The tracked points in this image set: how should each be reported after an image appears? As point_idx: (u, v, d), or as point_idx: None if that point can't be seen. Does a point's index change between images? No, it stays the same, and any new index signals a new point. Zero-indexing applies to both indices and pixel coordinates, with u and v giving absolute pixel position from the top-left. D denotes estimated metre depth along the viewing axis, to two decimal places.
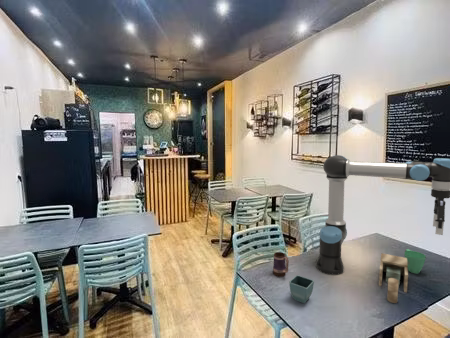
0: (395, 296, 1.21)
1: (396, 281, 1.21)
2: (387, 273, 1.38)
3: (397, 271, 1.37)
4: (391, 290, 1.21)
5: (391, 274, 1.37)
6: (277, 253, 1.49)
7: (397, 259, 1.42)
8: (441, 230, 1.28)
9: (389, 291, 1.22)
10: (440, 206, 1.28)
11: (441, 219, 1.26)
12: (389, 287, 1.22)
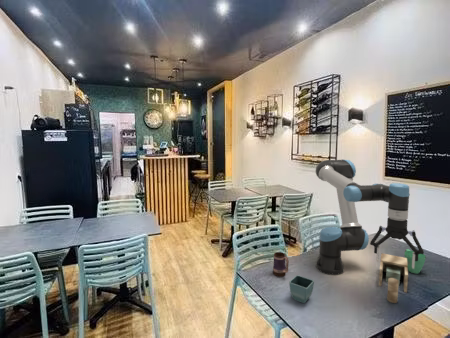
0: (395, 296, 1.21)
1: (396, 281, 1.21)
2: (387, 273, 1.38)
3: (397, 271, 1.37)
4: (391, 290, 1.21)
5: (391, 274, 1.37)
6: (277, 253, 1.49)
7: (397, 259, 1.42)
8: None
9: (389, 291, 1.22)
10: (379, 230, 1.23)
11: None
12: (389, 287, 1.22)
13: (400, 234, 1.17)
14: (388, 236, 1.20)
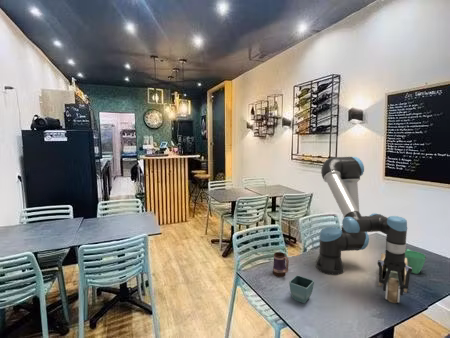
0: (395, 296, 1.21)
1: (396, 281, 1.21)
2: None
3: None
4: (391, 290, 1.21)
5: (391, 274, 1.37)
6: (277, 253, 1.49)
7: None
8: None
9: (389, 291, 1.22)
10: None
11: None
12: (389, 287, 1.22)
13: (397, 267, 1.19)
14: (389, 270, 1.21)
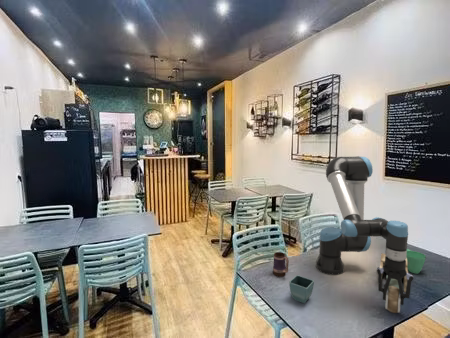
0: (396, 305, 1.14)
1: (397, 290, 1.14)
2: None
3: None
4: (391, 299, 1.14)
5: (391, 281, 1.30)
6: (277, 253, 1.49)
7: None
8: None
9: (389, 300, 1.15)
10: None
11: None
12: (389, 296, 1.15)
13: (398, 275, 1.11)
14: (389, 278, 1.14)
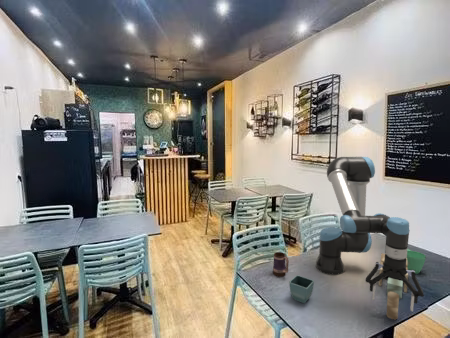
0: (395, 312, 1.10)
1: (396, 296, 1.10)
2: (388, 285, 1.27)
3: (399, 284, 1.25)
4: (390, 306, 1.10)
5: (392, 287, 1.26)
6: (277, 253, 1.49)
7: None
8: (372, 294, 1.14)
9: (388, 306, 1.11)
10: (375, 267, 1.13)
11: (366, 278, 1.15)
12: (388, 302, 1.11)
13: (398, 274, 1.07)
14: (385, 275, 1.09)
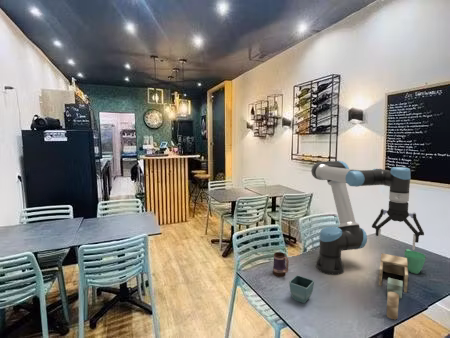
0: (395, 312, 1.10)
1: (396, 296, 1.10)
2: (388, 285, 1.27)
3: (400, 284, 1.25)
4: (390, 306, 1.10)
5: (392, 287, 1.26)
6: (277, 253, 1.49)
7: (397, 259, 1.42)
8: (378, 238, 1.27)
9: (388, 306, 1.11)
10: None
11: (372, 224, 1.28)
12: (388, 302, 1.11)
13: (401, 216, 1.20)
14: (389, 218, 1.22)
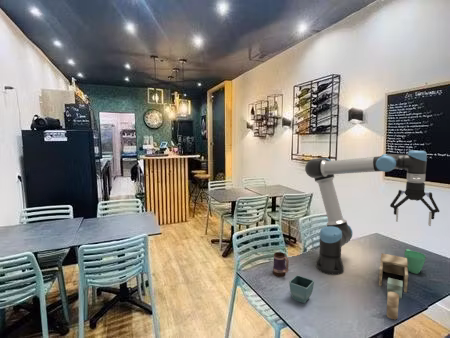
0: (395, 312, 1.10)
1: (396, 296, 1.10)
2: (388, 285, 1.27)
3: (399, 284, 1.25)
4: (390, 306, 1.10)
5: (392, 287, 1.26)
6: (277, 253, 1.49)
7: (397, 259, 1.42)
8: (396, 217, 1.38)
9: (388, 306, 1.11)
10: (398, 194, 1.37)
11: (390, 204, 1.39)
12: (388, 302, 1.11)
13: (418, 195, 1.31)
14: (407, 198, 1.33)
